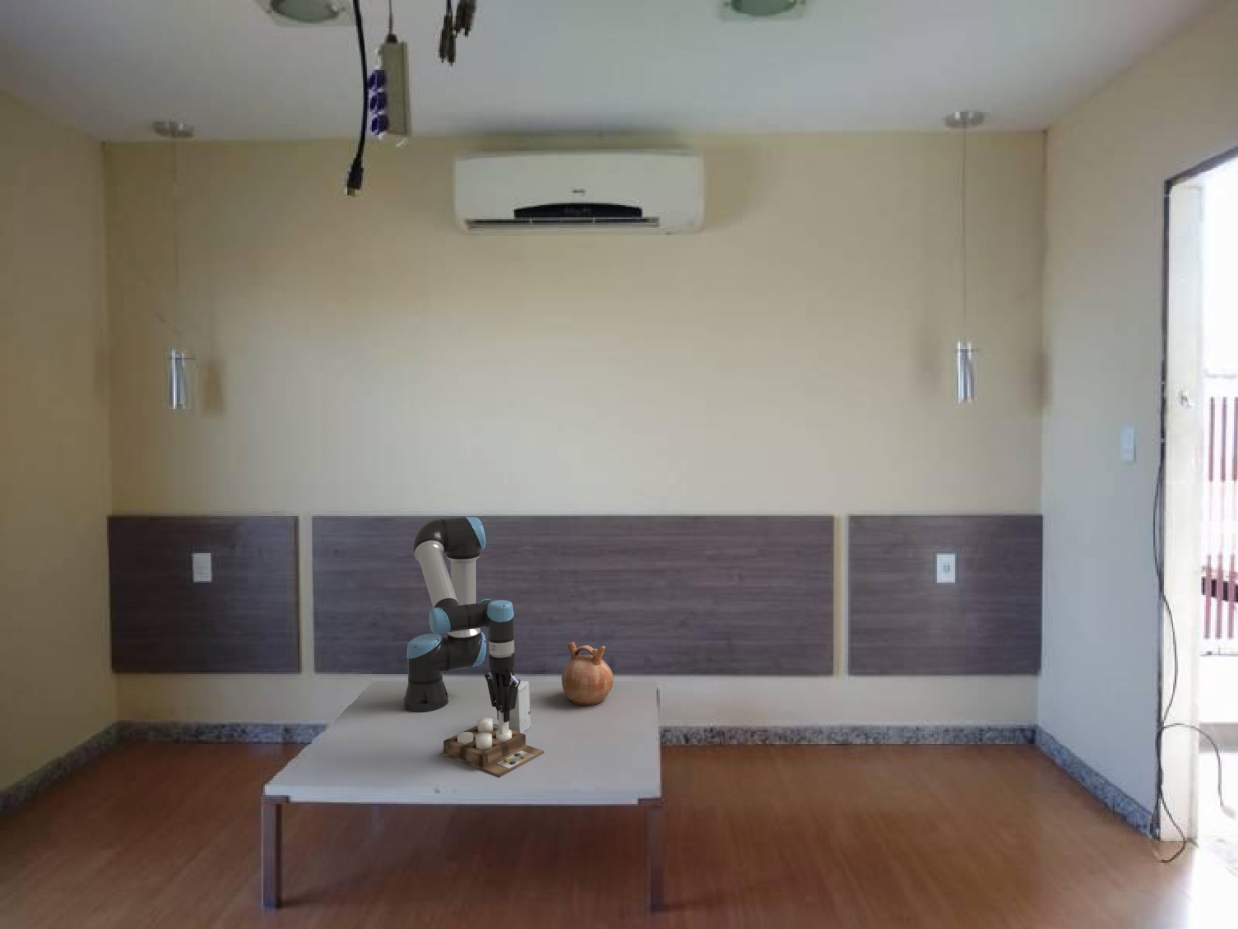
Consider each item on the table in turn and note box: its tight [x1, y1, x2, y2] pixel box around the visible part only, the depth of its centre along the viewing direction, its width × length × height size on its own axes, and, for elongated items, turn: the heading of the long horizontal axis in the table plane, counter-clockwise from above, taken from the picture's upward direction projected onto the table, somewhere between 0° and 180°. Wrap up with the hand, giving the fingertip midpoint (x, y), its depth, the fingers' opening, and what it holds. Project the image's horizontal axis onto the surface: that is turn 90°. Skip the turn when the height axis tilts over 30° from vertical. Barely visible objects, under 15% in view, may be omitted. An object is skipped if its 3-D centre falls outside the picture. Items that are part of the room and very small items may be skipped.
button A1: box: [456, 731, 473, 745], centre depth 224 cm, size 5×5×4 cm
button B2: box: [496, 730, 512, 742], centre depth 225 cm, size 5×5×4 cm
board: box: [441, 723, 545, 778], centre depth 223 cm, size 24×18×4 cm
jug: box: [561, 641, 614, 707], centre depth 264 cm, size 18×18×20 cm
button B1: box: [476, 733, 492, 752], centre depth 219 cm, size 5×5×4 cm
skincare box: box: [509, 680, 531, 734], centre depth 239 cm, size 8×6×15 cm
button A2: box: [477, 716, 494, 733], centre depth 230 cm, size 5×5×4 cm
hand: (503, 731), depth 225 cm, fingers closed
